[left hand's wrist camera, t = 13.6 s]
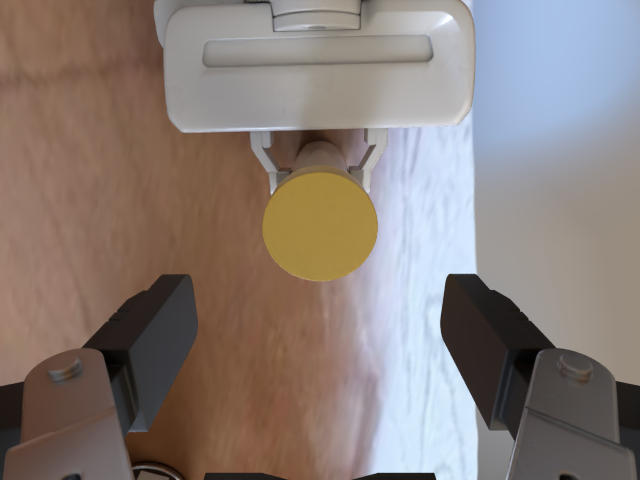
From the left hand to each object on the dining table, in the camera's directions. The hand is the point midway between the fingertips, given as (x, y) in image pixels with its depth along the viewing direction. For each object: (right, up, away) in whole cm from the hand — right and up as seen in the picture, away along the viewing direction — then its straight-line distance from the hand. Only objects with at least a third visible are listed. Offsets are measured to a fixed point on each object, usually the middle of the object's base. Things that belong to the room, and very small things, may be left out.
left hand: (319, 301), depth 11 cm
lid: (0, +2, +6) cm, 7 cm away
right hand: (0, +5, +17) cm, 17 cm away
